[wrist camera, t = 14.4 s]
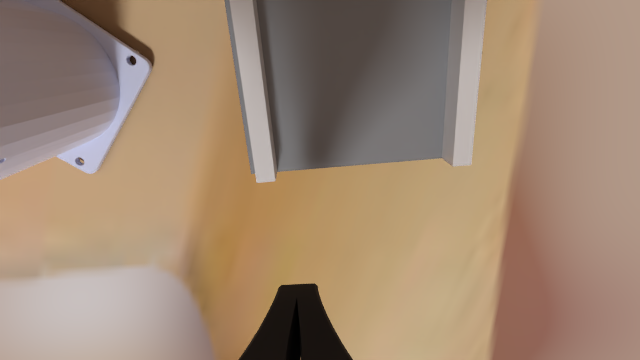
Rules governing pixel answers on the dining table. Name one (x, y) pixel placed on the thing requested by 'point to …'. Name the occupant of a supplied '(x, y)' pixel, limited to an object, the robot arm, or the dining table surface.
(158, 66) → the dining table surface
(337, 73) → the housing
